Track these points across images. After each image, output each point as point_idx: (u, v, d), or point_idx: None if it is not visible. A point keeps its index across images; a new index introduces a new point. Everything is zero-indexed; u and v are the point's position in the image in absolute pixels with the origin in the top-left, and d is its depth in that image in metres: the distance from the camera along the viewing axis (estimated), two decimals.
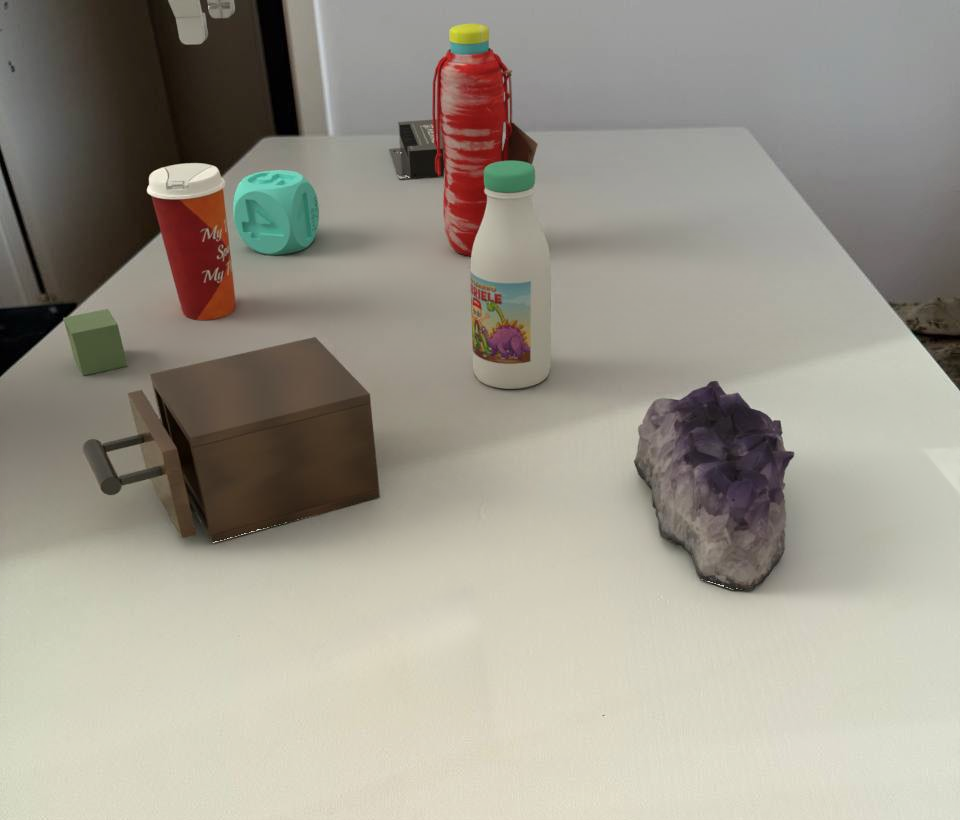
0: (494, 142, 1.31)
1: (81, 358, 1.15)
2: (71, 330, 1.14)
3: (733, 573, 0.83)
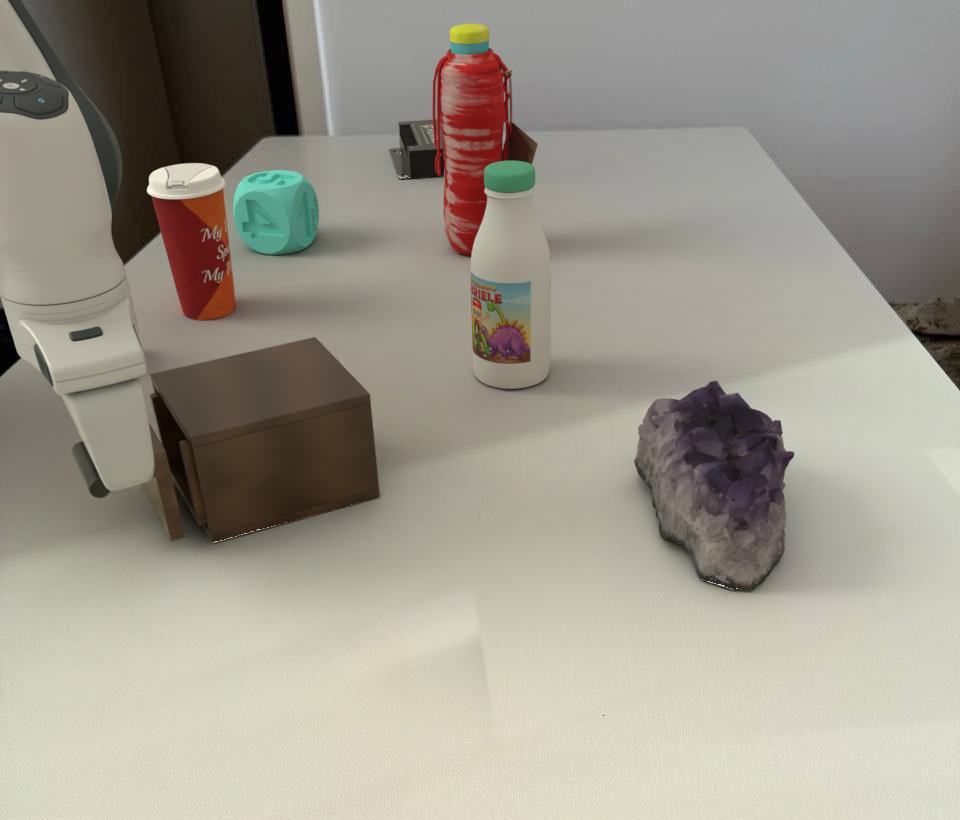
0: (494, 142, 1.31)
1: None
2: None
3: (733, 573, 0.83)
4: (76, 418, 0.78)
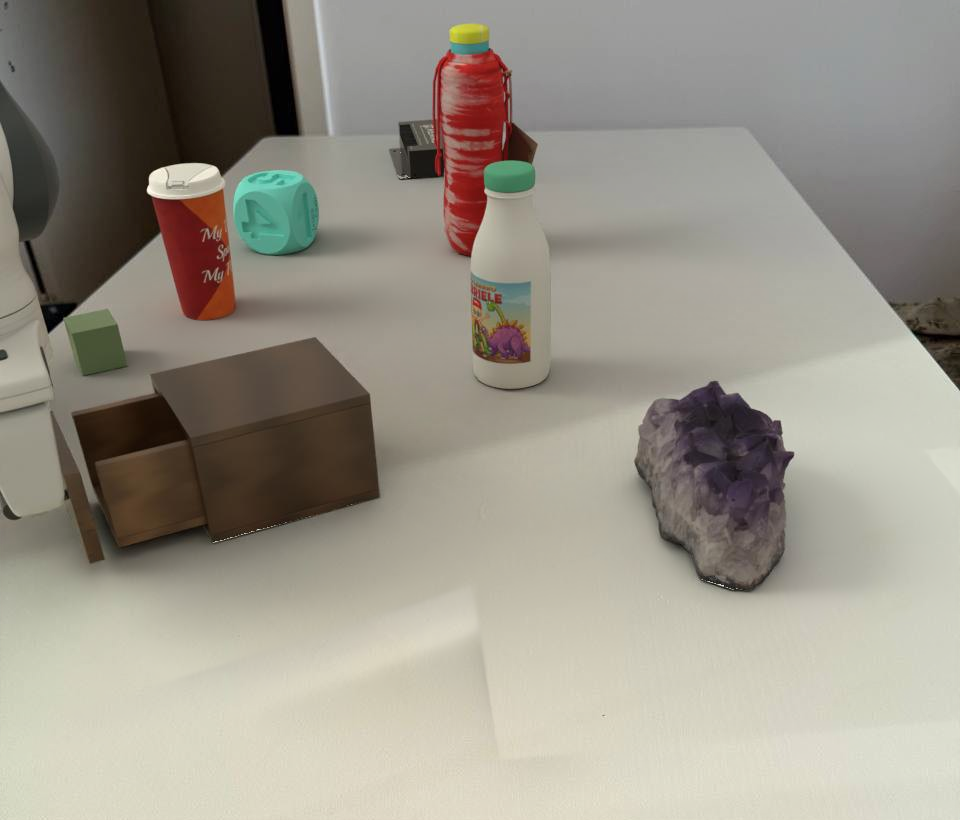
0: (494, 142, 1.31)
1: (81, 358, 1.15)
2: (71, 330, 1.14)
3: (733, 573, 0.83)
4: None
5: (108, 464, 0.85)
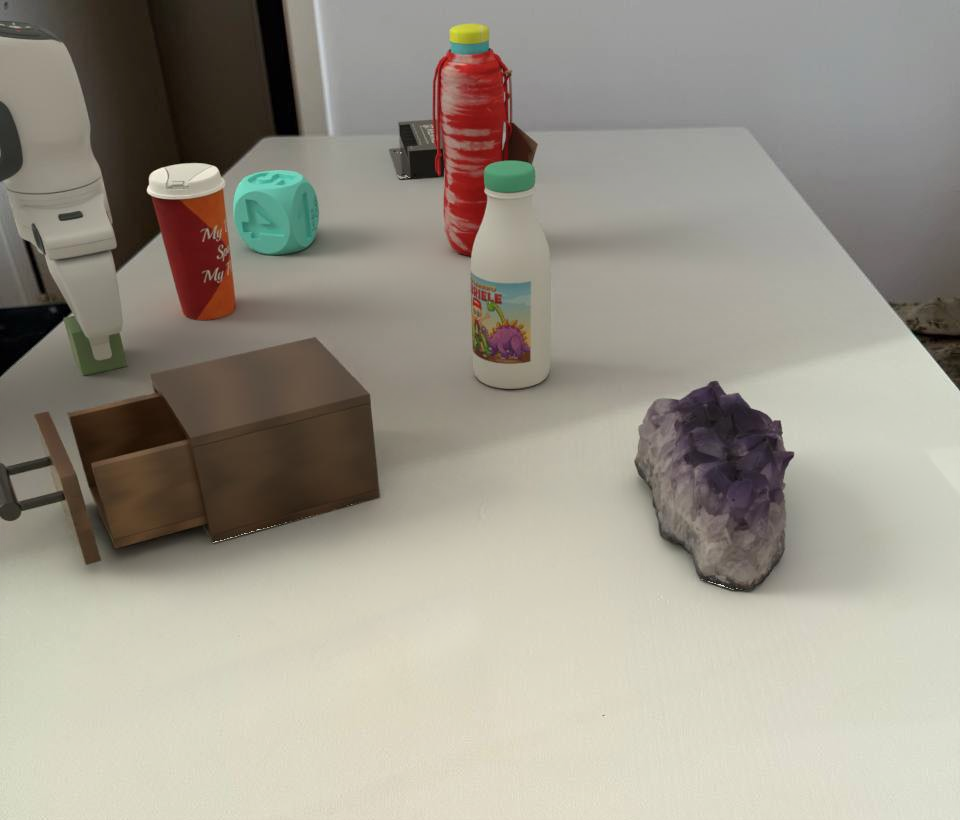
0: (494, 142, 1.31)
1: (81, 359, 1.15)
2: (71, 330, 1.14)
3: (733, 573, 0.83)
4: (63, 279, 1.04)
5: (104, 465, 0.85)
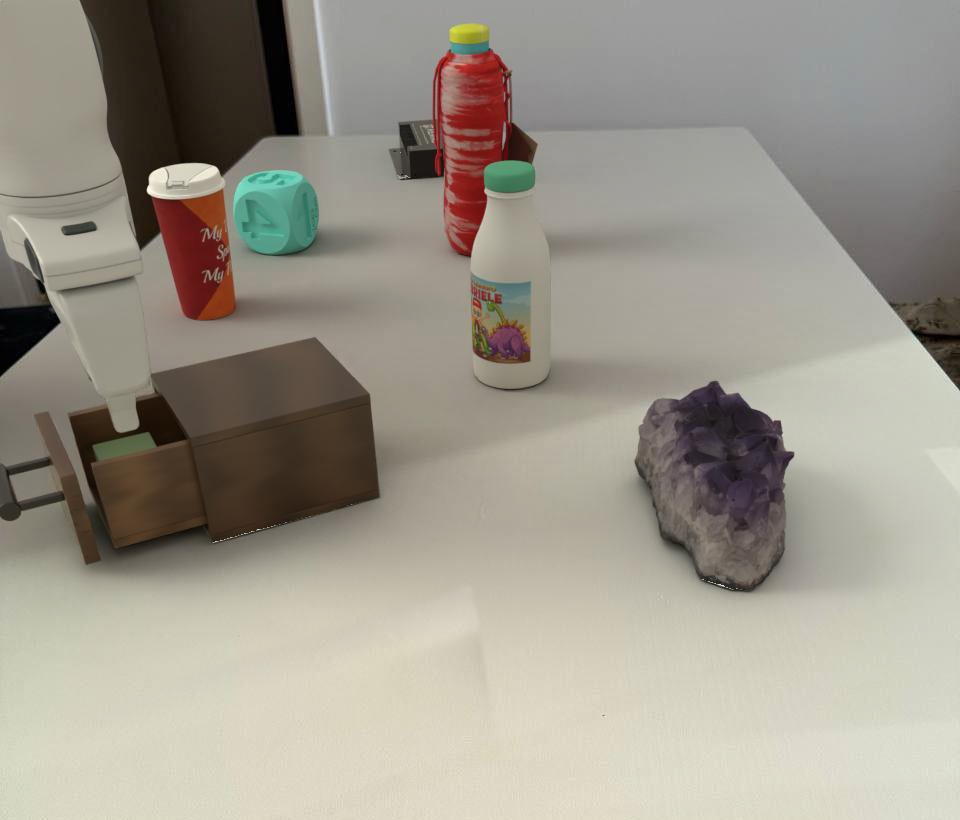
0: (494, 142, 1.31)
1: None
2: None
3: (733, 573, 0.83)
4: (68, 317, 0.74)
5: (104, 465, 0.85)
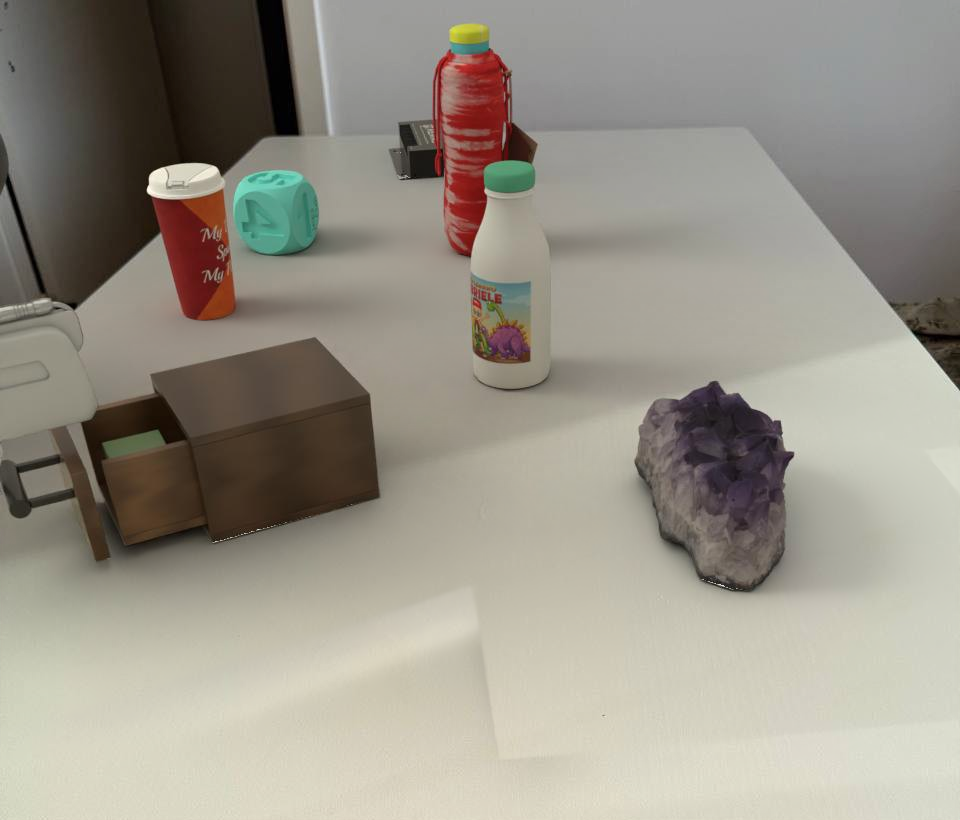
0: (494, 142, 1.31)
1: None
2: None
3: (733, 573, 0.83)
4: None
5: (114, 462, 0.85)
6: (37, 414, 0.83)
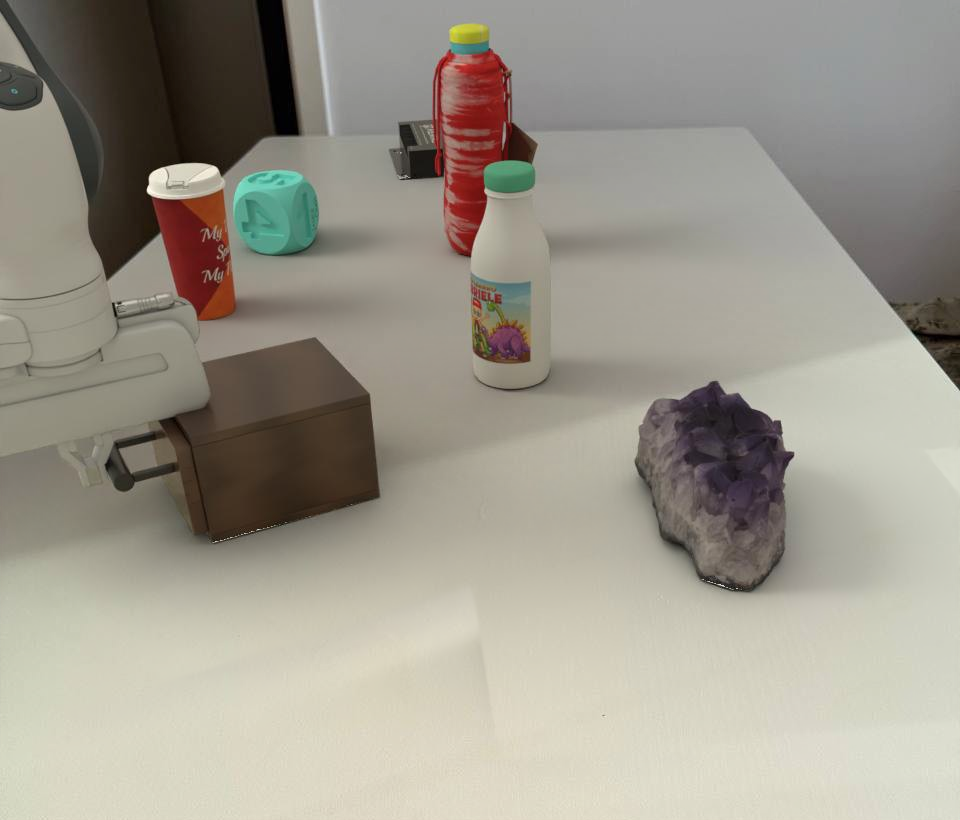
0: (494, 142, 1.31)
1: None
2: None
3: (733, 573, 0.83)
4: None
5: None
6: (154, 404, 0.87)
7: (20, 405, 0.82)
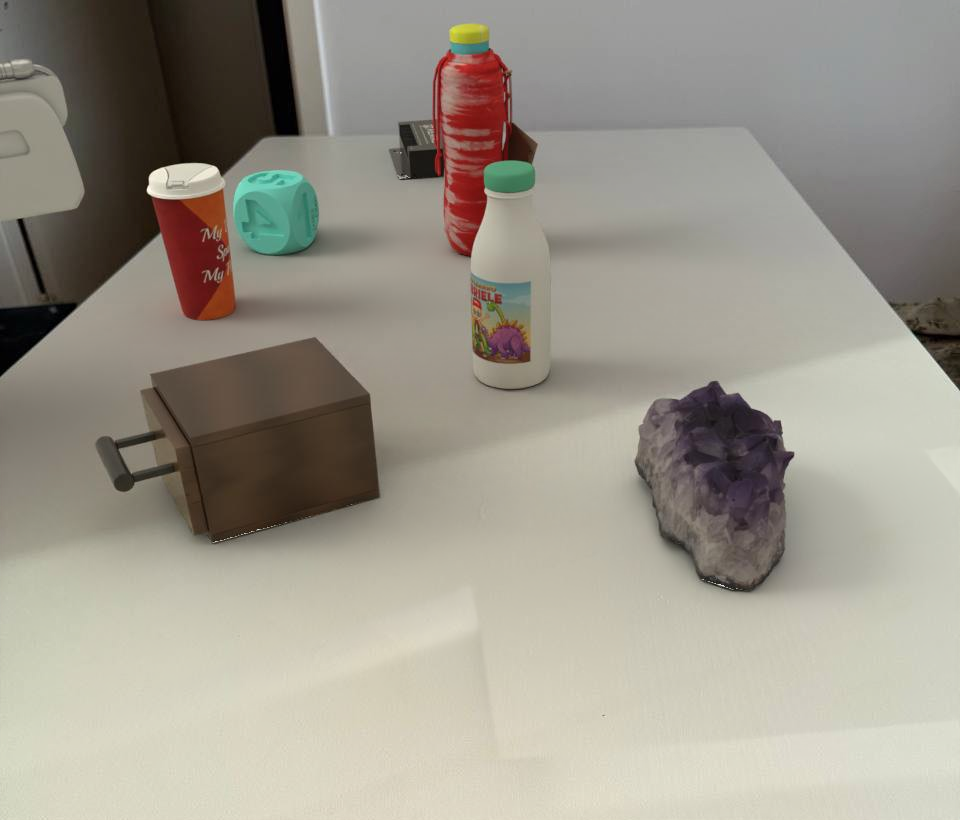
0: (494, 142, 1.31)
1: None
2: None
3: (733, 573, 0.83)
4: None
5: None
6: (16, 196, 0.75)
7: None
